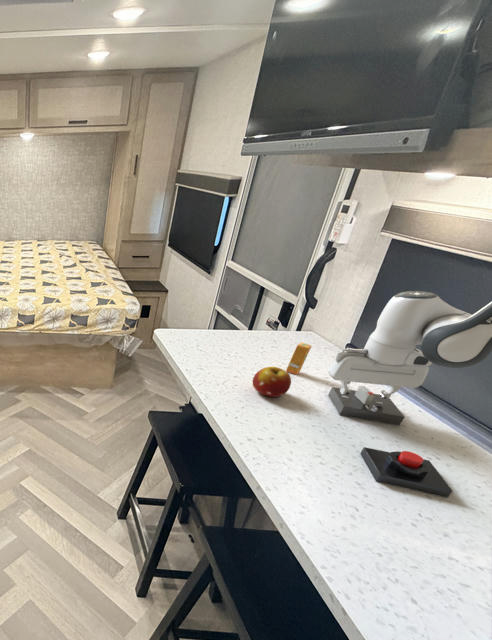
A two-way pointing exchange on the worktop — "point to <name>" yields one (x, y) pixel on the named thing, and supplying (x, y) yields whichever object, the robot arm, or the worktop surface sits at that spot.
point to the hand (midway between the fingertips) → (363, 395)
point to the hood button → (410, 459)
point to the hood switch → (404, 473)
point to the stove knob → (364, 395)
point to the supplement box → (298, 358)
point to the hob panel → (366, 408)
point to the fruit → (272, 381)
